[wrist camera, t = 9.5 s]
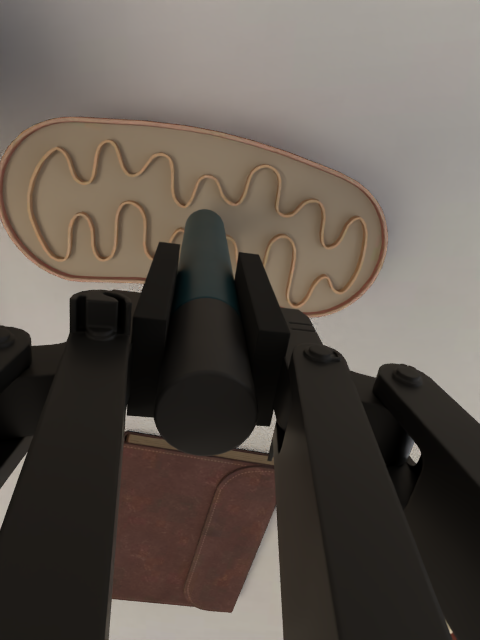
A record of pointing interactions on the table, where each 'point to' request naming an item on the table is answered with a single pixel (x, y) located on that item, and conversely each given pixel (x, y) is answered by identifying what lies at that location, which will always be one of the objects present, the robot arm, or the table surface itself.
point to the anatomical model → (187, 206)
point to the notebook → (189, 523)
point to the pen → (205, 350)
